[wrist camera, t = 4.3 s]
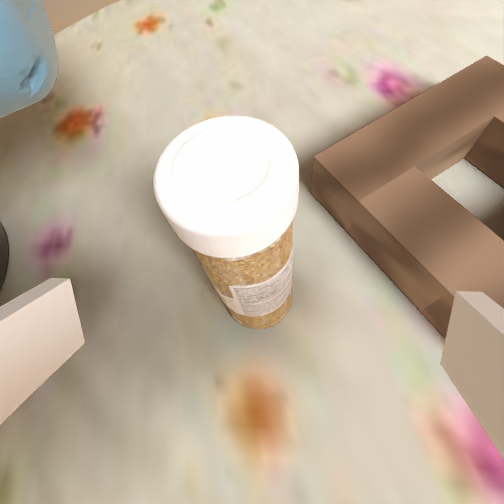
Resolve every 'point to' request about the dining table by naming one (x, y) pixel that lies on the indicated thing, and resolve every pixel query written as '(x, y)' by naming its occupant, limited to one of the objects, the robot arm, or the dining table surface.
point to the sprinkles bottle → (235, 210)
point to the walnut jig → (423, 190)
